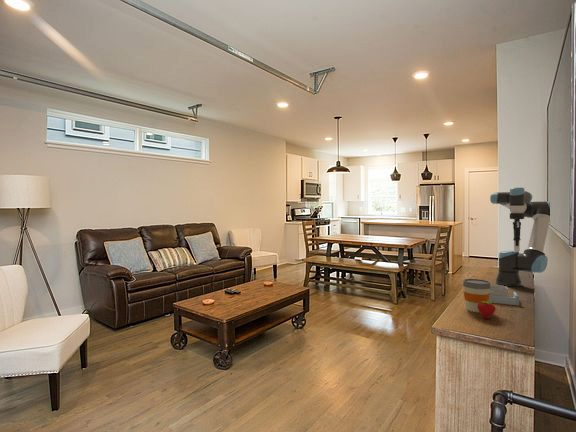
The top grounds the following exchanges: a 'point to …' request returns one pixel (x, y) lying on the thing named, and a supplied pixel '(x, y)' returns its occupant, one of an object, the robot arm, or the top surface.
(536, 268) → the robot arm
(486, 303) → the strawberry
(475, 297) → the reusable coffee cup
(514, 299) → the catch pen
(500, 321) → the top surface
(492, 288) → the teacup
